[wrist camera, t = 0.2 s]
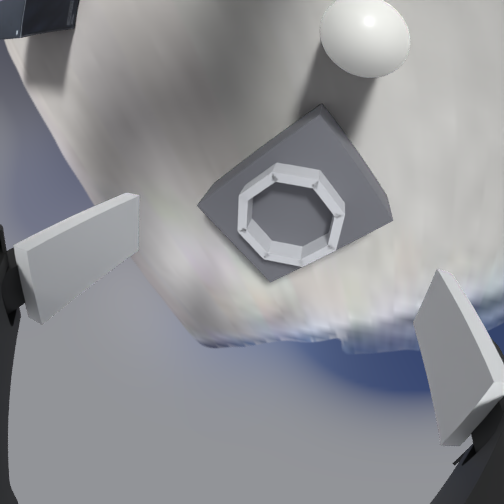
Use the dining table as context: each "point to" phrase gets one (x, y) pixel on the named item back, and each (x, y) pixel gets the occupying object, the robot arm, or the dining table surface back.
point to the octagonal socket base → (298, 197)
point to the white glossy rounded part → (365, 37)
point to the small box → (35, 17)
